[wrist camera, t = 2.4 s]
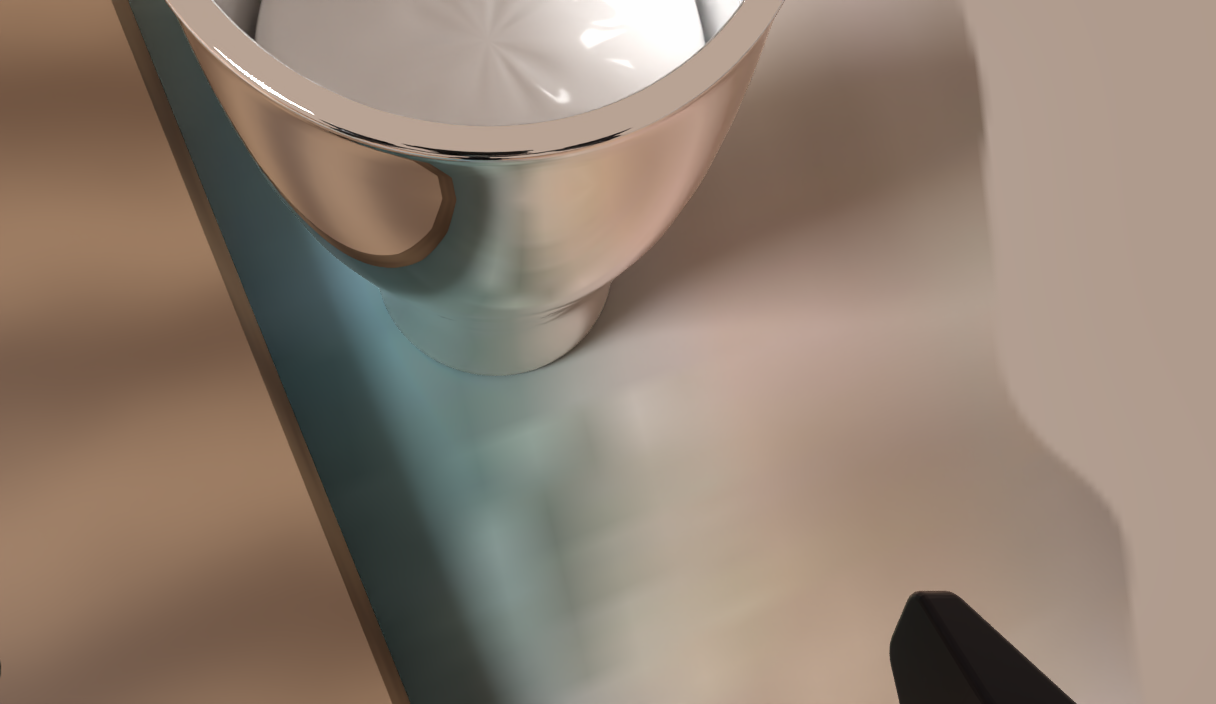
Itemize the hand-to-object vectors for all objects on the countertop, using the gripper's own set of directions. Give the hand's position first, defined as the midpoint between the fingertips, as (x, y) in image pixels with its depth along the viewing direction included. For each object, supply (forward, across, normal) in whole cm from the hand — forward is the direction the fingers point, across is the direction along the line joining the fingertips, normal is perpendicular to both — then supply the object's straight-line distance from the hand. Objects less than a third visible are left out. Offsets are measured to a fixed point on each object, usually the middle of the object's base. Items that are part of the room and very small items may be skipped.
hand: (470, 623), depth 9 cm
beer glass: (+15, 0, +4) cm, 15 cm away
